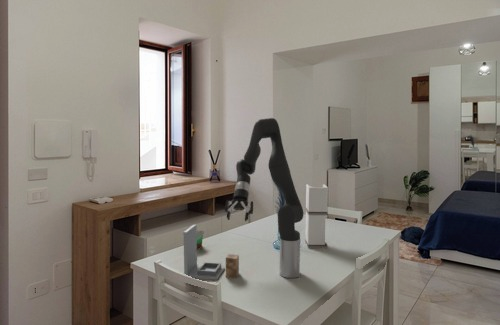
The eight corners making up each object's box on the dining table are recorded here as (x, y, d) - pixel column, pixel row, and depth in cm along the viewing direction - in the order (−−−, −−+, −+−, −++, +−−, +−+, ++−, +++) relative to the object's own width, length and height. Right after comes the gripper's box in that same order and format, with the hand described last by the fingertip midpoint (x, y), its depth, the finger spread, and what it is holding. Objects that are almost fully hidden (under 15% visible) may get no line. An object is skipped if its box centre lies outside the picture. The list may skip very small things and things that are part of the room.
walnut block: (238, 273, 165) (238, 254, 165) (236, 278, 160) (235, 259, 159) (228, 272, 166) (228, 254, 166) (225, 277, 161) (225, 258, 160)
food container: (183, 251, 196) (183, 233, 195) (182, 247, 202) (182, 230, 201) (205, 249, 199) (205, 231, 198) (204, 245, 205) (204, 228, 204)
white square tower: (326, 248, 201) (328, 187, 197) (308, 248, 201) (309, 187, 198) (323, 242, 212) (324, 184, 209) (305, 241, 212) (306, 184, 209)
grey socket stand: (224, 268, 171) (224, 226, 169) (217, 280, 158) (216, 233, 156) (194, 266, 174) (193, 224, 172) (184, 277, 161) (183, 232, 159)
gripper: (227, 187, 180) (221, 215, 170) (254, 188, 178) (250, 217, 168) (229, 195, 186) (223, 222, 176) (255, 196, 184) (252, 224, 174)
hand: (237, 219), depth 172 cm, fingers open, 8 cm apart
